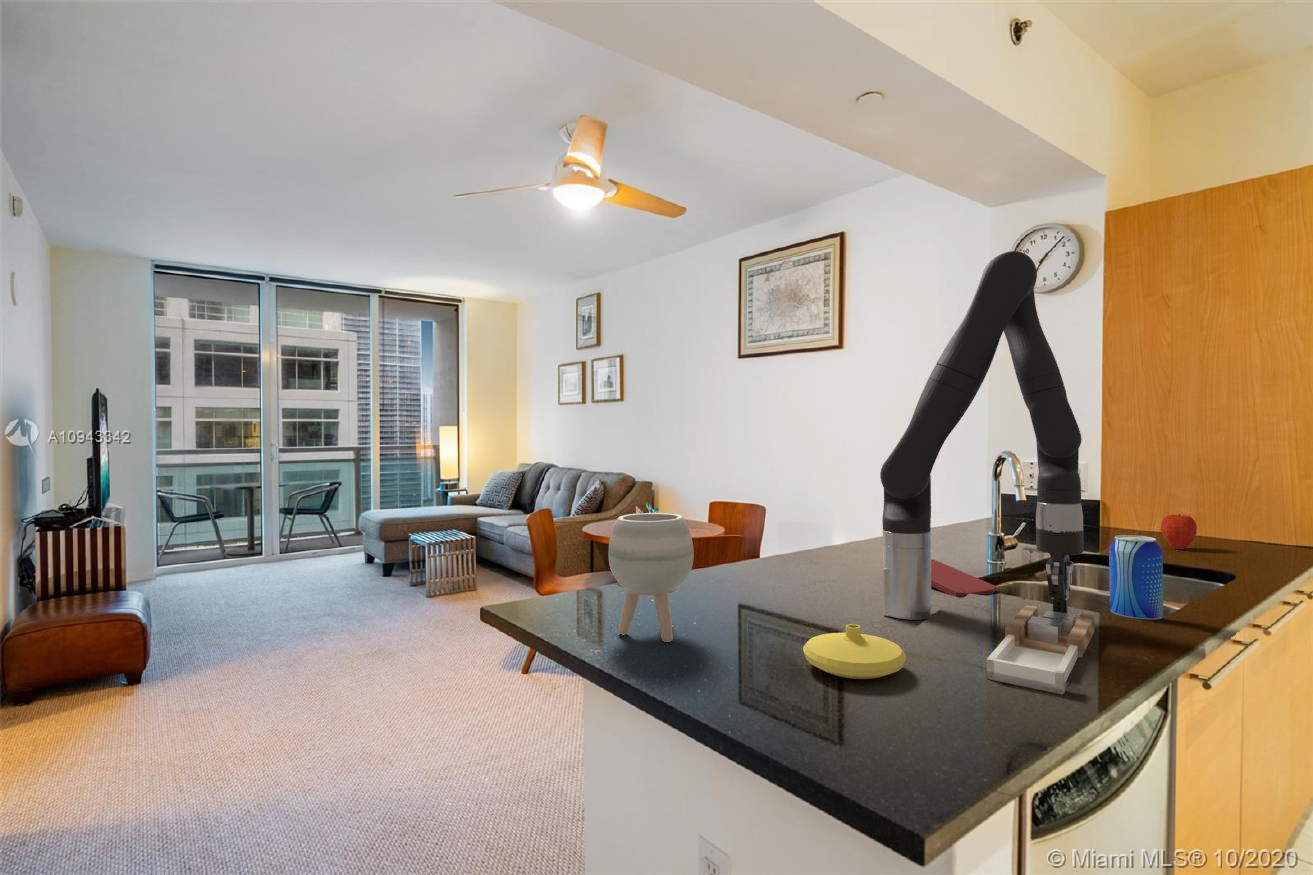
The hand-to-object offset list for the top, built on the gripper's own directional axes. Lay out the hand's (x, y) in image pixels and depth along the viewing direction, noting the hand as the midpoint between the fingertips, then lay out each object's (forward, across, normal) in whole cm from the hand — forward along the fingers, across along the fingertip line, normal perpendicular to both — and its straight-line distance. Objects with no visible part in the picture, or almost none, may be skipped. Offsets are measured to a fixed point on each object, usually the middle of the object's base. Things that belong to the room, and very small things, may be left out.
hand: (1060, 618), depth 123 cm
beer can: (+2, -16, +11) cm, 19 cm away
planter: (+2, +47, -60) cm, 77 cm away
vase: (+2, +42, -23) cm, 48 cm away
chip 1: (+1, +12, -1) cm, 12 cm away
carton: (+3, -25, -29) cm, 38 cm away
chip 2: (+1, +6, +1) cm, 6 cm away
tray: (+2, +26, 0) cm, 27 cm away
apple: (+2, -109, +16) cm, 110 cm away
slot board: (+2, +10, 0) cm, 10 cm away
